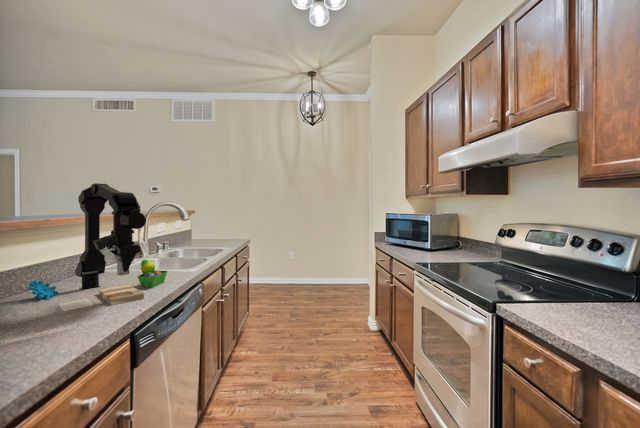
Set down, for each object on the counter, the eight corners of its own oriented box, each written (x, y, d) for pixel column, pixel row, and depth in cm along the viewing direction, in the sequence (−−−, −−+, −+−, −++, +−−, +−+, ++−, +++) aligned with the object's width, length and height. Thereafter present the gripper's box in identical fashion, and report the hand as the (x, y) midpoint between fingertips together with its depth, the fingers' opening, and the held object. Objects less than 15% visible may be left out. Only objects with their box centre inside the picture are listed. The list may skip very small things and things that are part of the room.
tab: (58, 307, 103) (58, 303, 103) (87, 302, 108) (87, 298, 108) (63, 314, 96) (62, 311, 96) (94, 308, 102) (93, 305, 102)
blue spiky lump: (46, 300, 105) (25, 280, 104) (31, 313, 104) (10, 293, 103) (67, 295, 116) (48, 277, 115) (54, 307, 115) (35, 288, 114)
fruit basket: (154, 288, 126) (154, 261, 126) (133, 288, 126) (133, 261, 126) (168, 281, 138) (168, 257, 137) (149, 281, 138) (149, 257, 138)
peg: (113, 274, 108) (112, 254, 108) (129, 271, 112) (129, 253, 112) (116, 276, 105) (116, 256, 105) (133, 274, 109) (133, 254, 108)
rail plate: (98, 297, 114) (98, 288, 114) (129, 291, 121) (129, 283, 121) (111, 308, 102) (111, 299, 102) (143, 301, 109) (143, 293, 109)
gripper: (89, 227, 109) (90, 270, 109) (102, 230, 96) (102, 279, 96) (125, 225, 117) (125, 265, 117) (141, 228, 104) (141, 273, 104)
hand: (123, 270), depth 109 cm, fingers closed on peg, 4 cm apart
